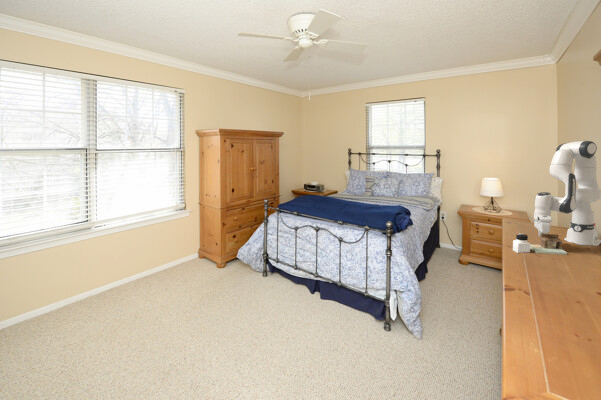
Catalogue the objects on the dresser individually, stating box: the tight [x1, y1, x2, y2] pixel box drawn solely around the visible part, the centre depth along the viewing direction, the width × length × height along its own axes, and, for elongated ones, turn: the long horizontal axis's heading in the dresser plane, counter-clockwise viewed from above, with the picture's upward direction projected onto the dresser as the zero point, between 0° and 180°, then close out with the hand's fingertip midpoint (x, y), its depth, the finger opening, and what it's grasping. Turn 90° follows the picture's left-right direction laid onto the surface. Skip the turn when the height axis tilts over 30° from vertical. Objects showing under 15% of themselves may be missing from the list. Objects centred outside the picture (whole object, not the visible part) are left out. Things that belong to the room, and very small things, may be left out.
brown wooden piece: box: [539, 233, 563, 249], centre depth 198 cm, size 9×7×8 cm
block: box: [546, 241, 556, 249], centre depth 199 cm, size 4×4×6 cm
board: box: [530, 243, 568, 256], centre depth 198 cm, size 16×15×3 cm
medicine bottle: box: [512, 233, 531, 254], centre depth 199 cm, size 7×7×12 cm
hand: (540, 236), depth 204 cm, fingers closed
